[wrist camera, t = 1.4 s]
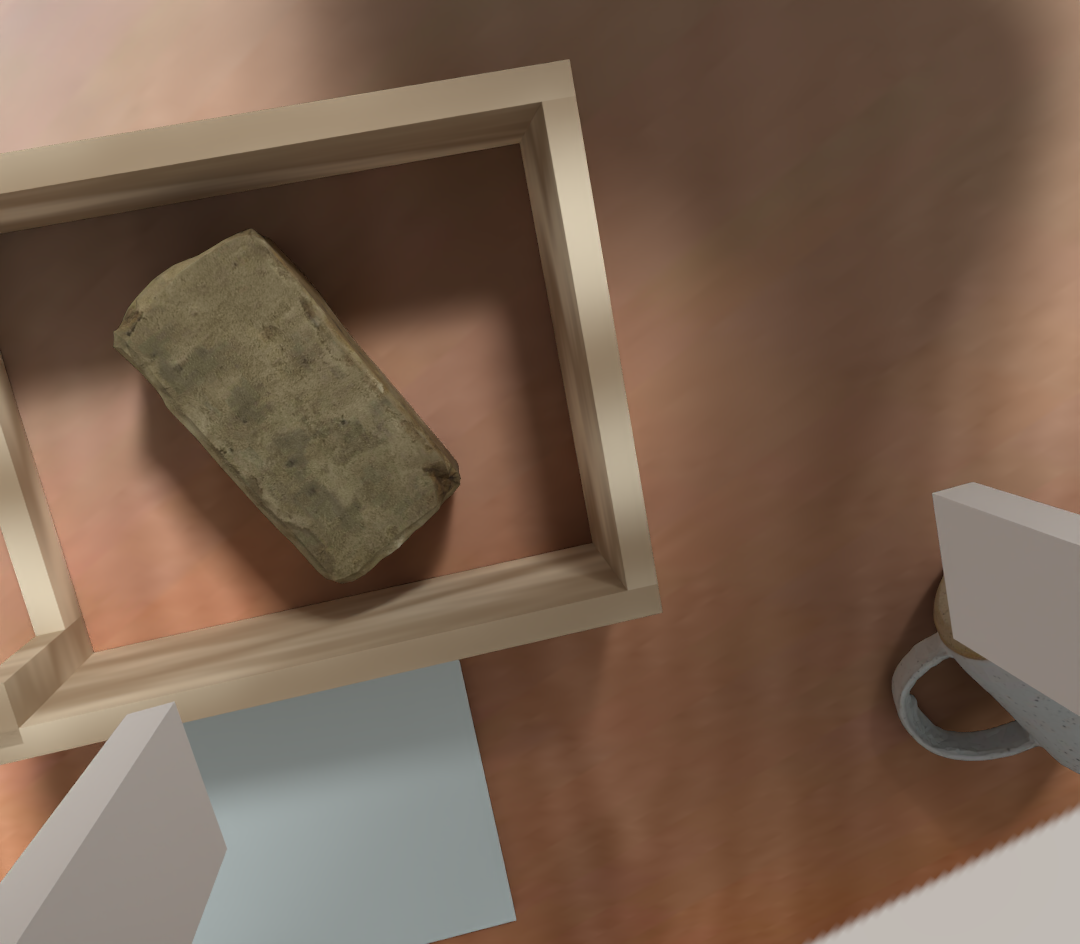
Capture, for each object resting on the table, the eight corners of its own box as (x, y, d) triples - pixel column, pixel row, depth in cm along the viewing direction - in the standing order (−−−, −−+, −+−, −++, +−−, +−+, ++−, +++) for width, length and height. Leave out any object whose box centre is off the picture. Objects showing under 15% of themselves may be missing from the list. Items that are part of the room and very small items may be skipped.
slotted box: (-76, 214, 28) (-206, 187, 23) (541, 109, 30) (569, 59, 25) (74, 683, 32) (-6, 766, 26) (621, 561, 34) (662, 612, 28)
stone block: (354, 563, 33) (340, 605, 28) (133, 325, 30) (76, 325, 25) (471, 465, 33) (478, 490, 28) (259, 218, 30) (226, 198, 25)
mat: (109, 702, 32) (105, 706, 32) (451, 624, 33) (452, 628, 33) (200, 995, 35) (198, 1003, 34) (515, 913, 36) (516, 920, 35)
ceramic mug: (1004, 478, 35) (1156, 524, 28) (1128, 594, 37) (1303, 667, 30) (834, 672, 36) (938, 767, 29) (963, 777, 38) (1093, 893, 30)
